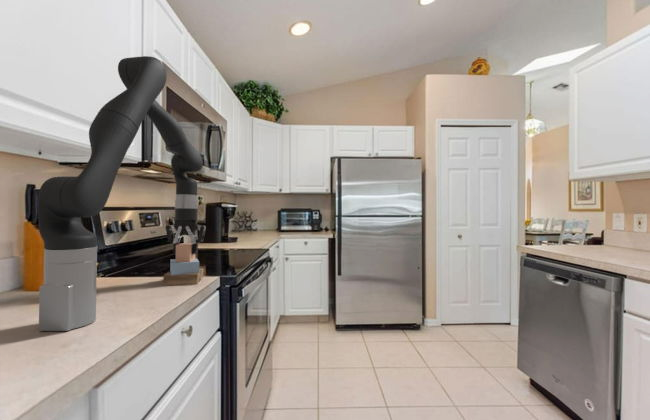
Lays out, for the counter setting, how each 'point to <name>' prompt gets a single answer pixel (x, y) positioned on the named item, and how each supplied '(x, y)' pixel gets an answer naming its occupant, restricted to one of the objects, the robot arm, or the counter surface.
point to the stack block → (184, 252)
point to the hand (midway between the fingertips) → (185, 253)
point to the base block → (183, 278)
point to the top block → (184, 267)
